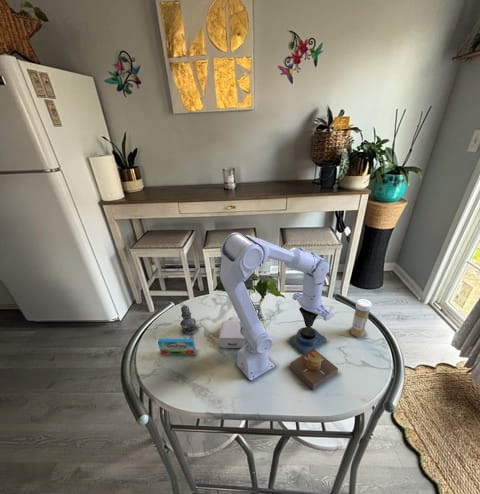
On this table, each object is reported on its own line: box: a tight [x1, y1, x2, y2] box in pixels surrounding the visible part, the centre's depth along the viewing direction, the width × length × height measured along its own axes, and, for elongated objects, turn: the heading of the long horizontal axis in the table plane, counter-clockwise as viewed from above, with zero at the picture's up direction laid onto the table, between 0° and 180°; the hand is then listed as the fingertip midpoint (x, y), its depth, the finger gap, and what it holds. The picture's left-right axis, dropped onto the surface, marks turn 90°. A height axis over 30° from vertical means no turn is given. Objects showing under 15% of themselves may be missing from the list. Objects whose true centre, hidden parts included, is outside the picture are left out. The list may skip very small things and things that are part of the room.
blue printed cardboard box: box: [157, 337, 197, 356], centre depth 92 cm, size 12×2×6 cm, turn 85°
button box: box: [288, 326, 327, 355], centre depth 94 cm, size 10×8×4 cm
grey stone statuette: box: [179, 304, 198, 335], centre depth 101 cm, size 6×6×12 cm
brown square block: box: [289, 348, 339, 391], centre depth 83 cm, size 10×10×3 cm
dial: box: [307, 352, 322, 370], centre depth 82 cm, size 4×4×4 cm
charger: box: [218, 314, 245, 349], centre depth 99 cm, size 5×9×15 cm
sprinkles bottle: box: [350, 298, 372, 338], centre depth 93 cm, size 5×5×14 cm
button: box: [301, 326, 316, 339], centre depth 93 cm, size 4×4×2 cm
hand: (308, 325), depth 91 cm, fingers closed
